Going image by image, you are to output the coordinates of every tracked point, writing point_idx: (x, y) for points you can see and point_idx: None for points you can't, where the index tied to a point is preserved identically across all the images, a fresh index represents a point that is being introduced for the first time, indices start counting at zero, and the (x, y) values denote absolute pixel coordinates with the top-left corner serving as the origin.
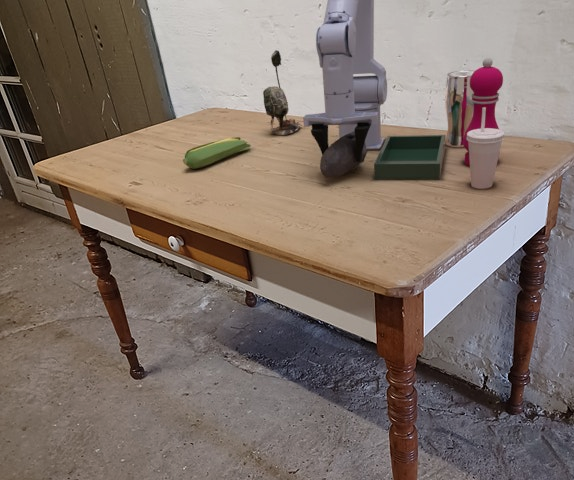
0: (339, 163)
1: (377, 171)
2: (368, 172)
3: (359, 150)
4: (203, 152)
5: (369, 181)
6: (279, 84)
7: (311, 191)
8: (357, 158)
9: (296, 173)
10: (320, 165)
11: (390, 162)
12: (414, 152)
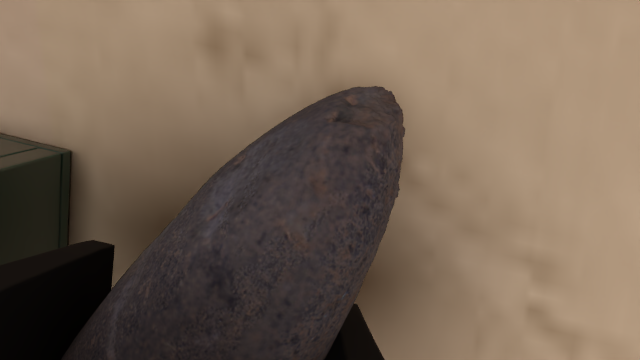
0: (226, 164)
1: (10, 155)
2: (117, 269)
3: (1, 271)
4: None
5: (97, 127)
6: None
7: (455, 26)
8: (85, 249)
9: (517, 355)
10: (401, 112)
11: None
12: None
